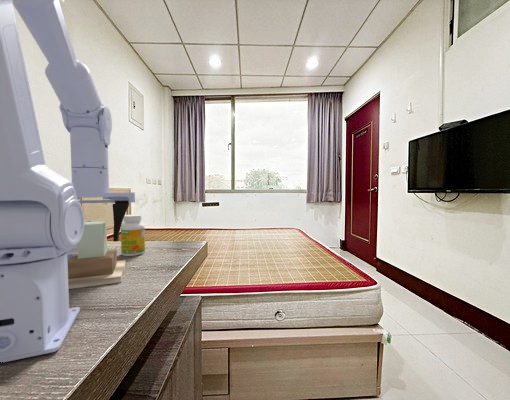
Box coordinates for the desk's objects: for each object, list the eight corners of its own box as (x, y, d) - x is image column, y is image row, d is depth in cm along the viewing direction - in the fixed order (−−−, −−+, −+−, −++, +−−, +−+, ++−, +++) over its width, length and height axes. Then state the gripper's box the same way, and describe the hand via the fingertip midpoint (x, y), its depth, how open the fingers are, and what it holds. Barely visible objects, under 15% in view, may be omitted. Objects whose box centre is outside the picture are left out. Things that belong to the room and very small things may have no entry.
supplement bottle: (117, 256, 60) (116, 216, 60) (126, 251, 66) (125, 214, 65) (140, 256, 61) (139, 216, 61) (148, 250, 66) (147, 214, 66)
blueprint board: (121, 282, 44) (120, 259, 44) (50, 291, 40) (49, 266, 40) (126, 264, 54) (125, 246, 54) (69, 270, 50) (69, 250, 50)
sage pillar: (103, 256, 46) (102, 223, 46) (77, 258, 44) (76, 225, 44) (107, 251, 50) (106, 221, 49) (83, 253, 48) (82, 222, 48)
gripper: (135, 171, 53) (136, 235, 53) (49, 169, 47) (52, 241, 48) (133, 168, 46) (135, 242, 47) (33, 166, 41) (37, 249, 41)
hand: (92, 242), depth 47 cm, fingers open, 7 cm apart
